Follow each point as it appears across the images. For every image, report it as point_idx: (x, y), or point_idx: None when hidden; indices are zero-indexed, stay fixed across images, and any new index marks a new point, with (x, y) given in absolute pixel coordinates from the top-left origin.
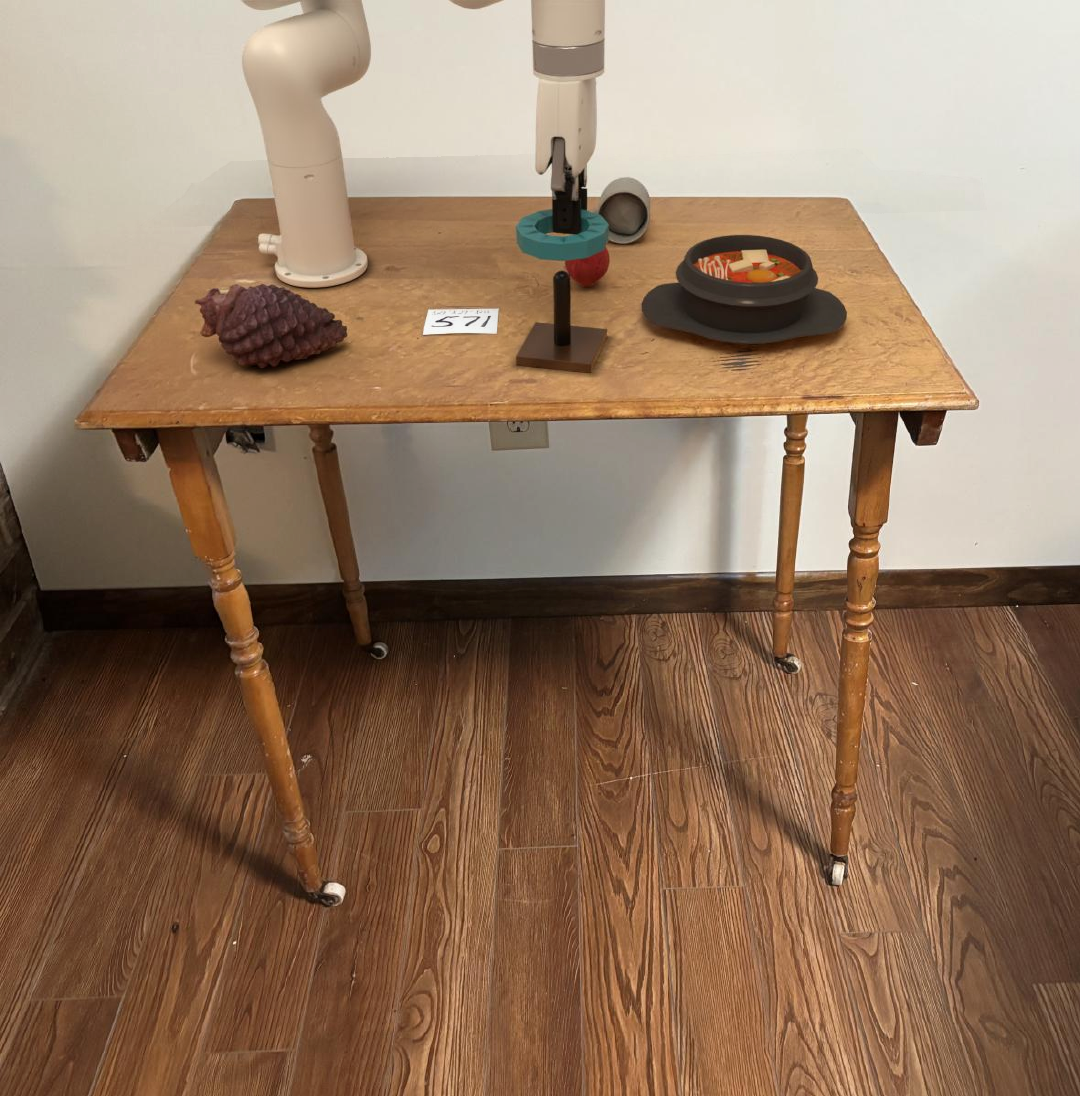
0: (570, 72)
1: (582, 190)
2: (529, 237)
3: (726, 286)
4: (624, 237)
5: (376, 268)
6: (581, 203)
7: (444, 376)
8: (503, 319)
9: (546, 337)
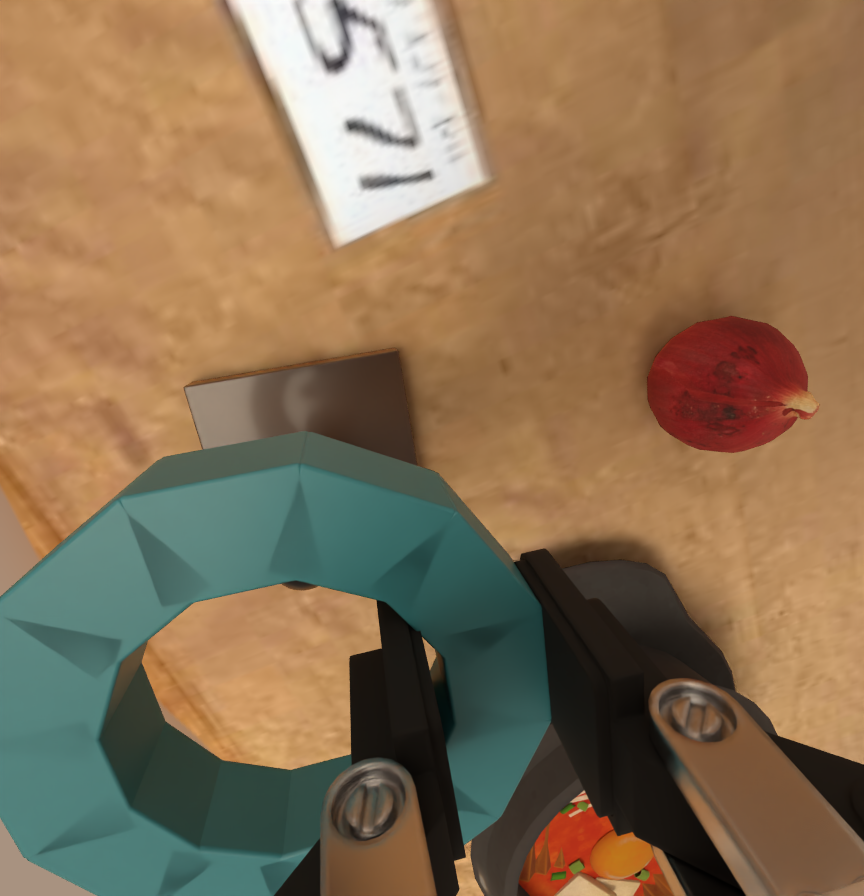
0: None
1: (614, 813)
2: None
3: (500, 874)
4: None
5: None
6: (567, 736)
7: (17, 205)
8: (427, 227)
9: (323, 418)
